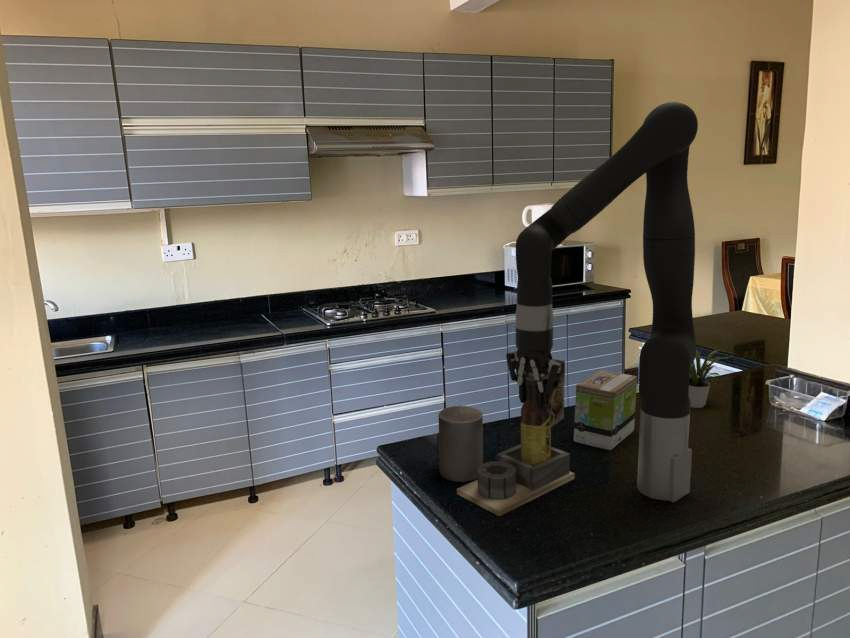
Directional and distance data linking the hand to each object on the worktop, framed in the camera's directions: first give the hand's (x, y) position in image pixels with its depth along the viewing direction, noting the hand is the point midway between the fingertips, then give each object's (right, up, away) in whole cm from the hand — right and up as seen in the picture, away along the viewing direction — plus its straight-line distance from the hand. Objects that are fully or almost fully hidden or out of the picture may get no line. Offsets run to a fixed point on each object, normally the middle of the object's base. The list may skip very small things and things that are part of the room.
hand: (533, 404), depth 134 cm
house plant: (+53, -6, +44) cm, 69 cm away
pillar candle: (-15, -16, +8) cm, 23 cm away
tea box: (+22, -11, +25) cm, 35 cm away
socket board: (-3, -17, +1) cm, 18 cm away
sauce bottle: (+1, -14, +3) cm, 14 cm away
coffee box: (+9, -9, +35) cm, 37 cm away
